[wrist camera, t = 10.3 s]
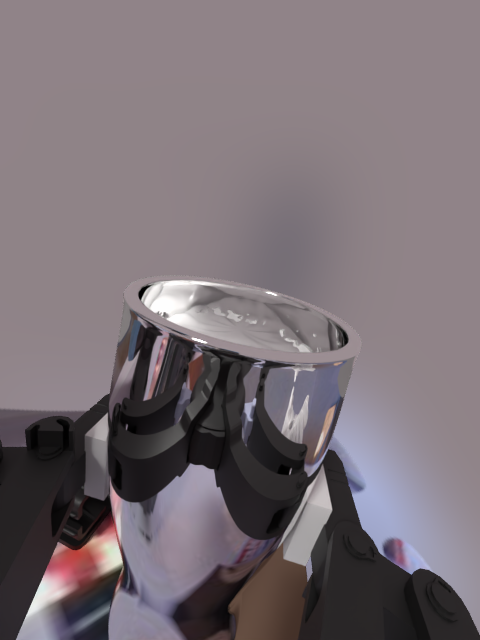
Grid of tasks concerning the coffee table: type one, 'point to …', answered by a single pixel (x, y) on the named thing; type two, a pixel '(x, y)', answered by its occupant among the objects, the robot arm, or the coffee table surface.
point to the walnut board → (273, 601)
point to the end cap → (83, 519)
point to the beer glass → (213, 444)
